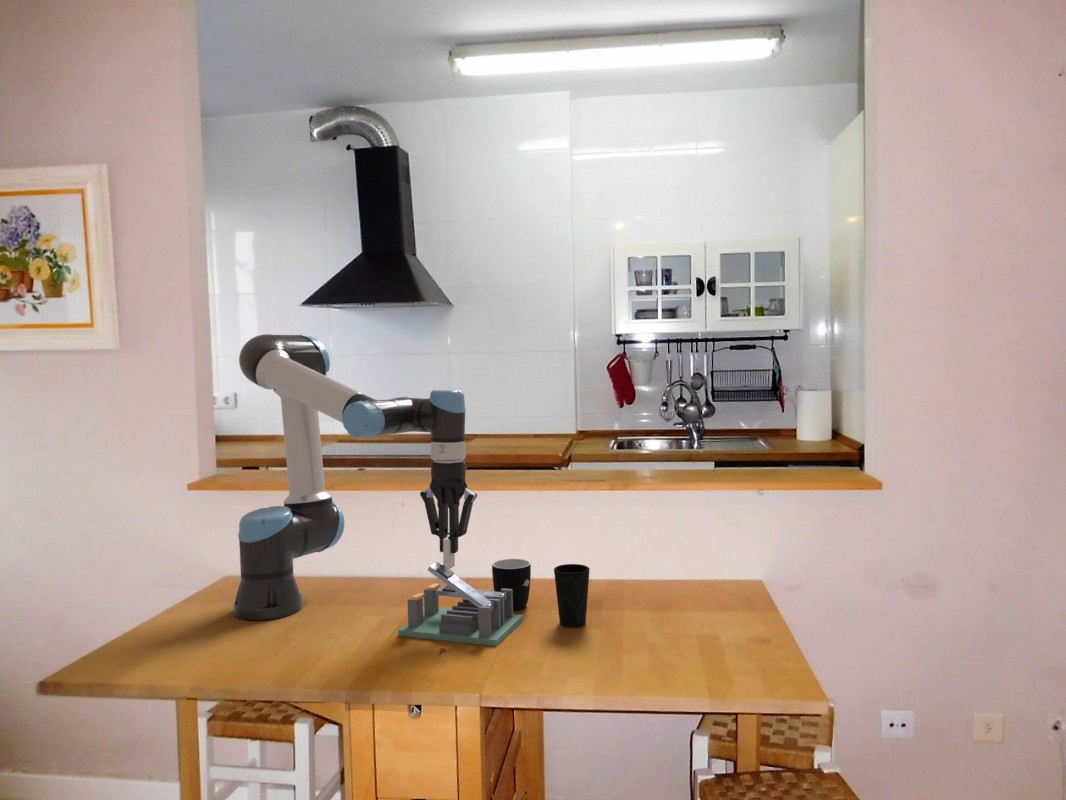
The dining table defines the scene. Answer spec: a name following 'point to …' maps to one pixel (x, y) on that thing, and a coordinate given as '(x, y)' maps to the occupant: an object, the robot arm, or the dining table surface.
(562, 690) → the dining table surface
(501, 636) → the socket board
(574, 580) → the cup
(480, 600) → the strap near
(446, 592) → the strap far
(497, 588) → the mug
